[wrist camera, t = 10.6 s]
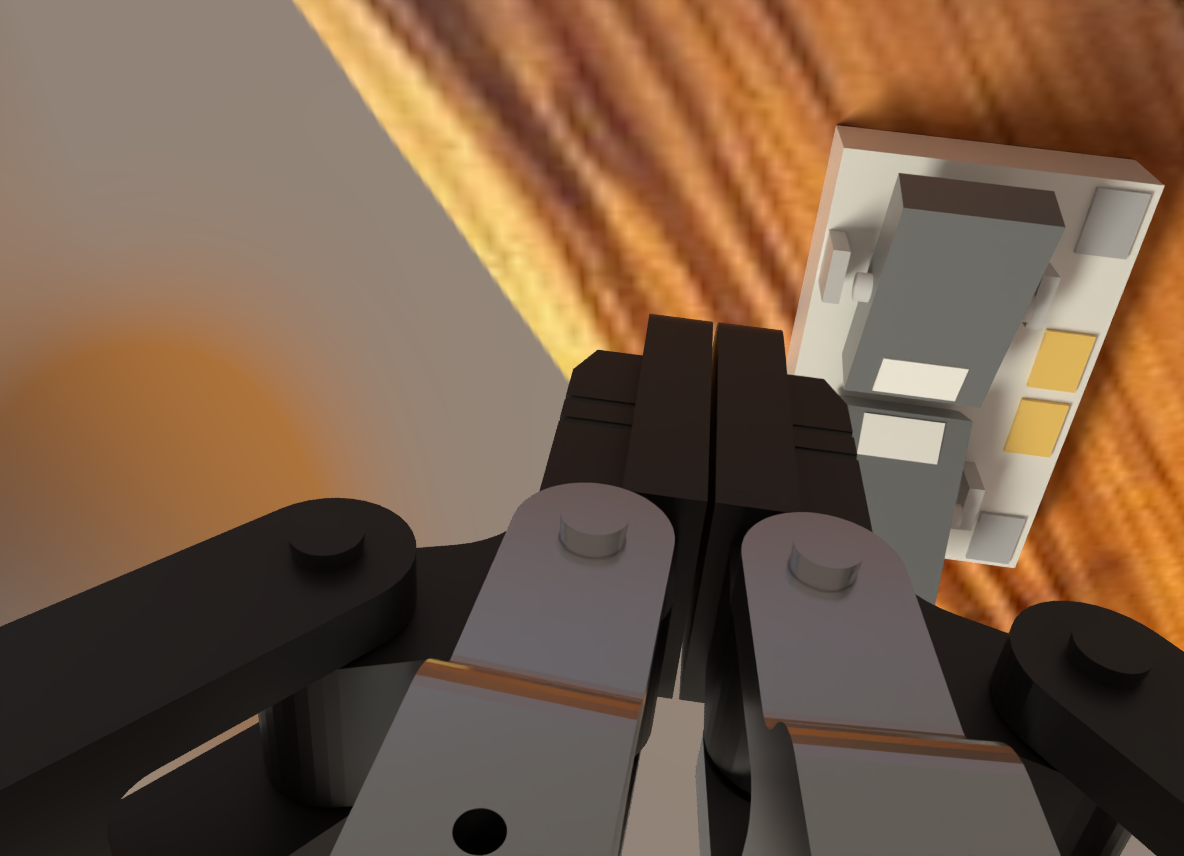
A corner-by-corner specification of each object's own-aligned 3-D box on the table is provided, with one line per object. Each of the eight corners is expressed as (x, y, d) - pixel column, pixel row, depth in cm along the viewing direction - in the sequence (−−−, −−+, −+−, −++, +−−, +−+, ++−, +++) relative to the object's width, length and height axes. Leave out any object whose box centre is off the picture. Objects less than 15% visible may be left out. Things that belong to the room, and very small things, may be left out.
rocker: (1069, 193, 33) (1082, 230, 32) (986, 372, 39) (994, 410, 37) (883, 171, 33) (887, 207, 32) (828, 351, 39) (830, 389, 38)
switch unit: (1135, 159, 38) (1187, 204, 33) (999, 526, 47) (1026, 598, 42) (836, 125, 38) (849, 165, 34) (758, 493, 47) (761, 561, 43)
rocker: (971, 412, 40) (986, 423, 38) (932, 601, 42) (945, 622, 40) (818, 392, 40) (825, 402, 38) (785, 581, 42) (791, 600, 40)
